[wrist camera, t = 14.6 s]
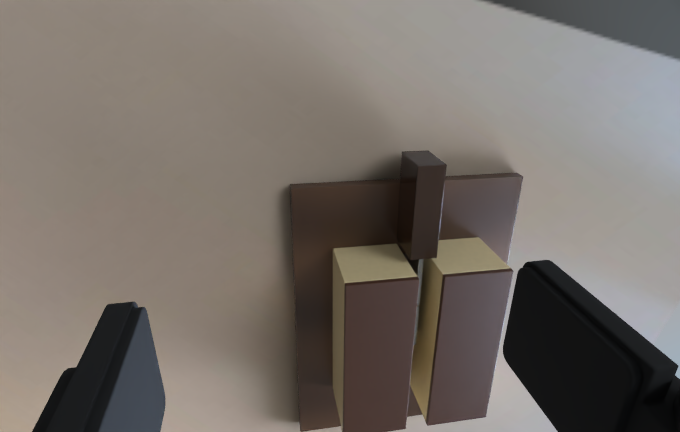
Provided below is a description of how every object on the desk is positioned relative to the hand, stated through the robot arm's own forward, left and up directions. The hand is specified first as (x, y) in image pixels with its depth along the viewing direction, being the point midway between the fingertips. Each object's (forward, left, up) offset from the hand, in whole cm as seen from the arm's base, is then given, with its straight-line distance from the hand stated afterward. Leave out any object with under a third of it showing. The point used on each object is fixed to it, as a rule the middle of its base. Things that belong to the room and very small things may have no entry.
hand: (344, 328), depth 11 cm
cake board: (+16, +9, -22) cm, 29 cm away
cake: (+16, +9, -22) cm, 29 cm away
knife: (+9, +9, -21) cm, 25 cm away
